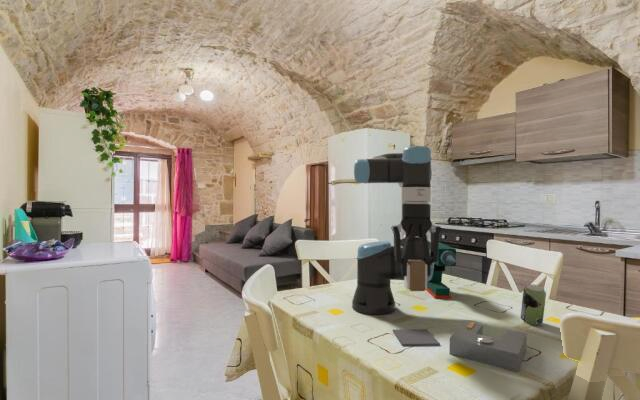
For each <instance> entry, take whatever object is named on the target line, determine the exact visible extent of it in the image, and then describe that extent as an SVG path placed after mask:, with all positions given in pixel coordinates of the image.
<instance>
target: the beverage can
mask: <svg viewBox="0 0 640 400" xmlns="http://www.w3.org/2000/svg"><path fill="white" fill-rule="evenodd" d="M522 292H523V293H522V299H521V309H520V310H521V311H520V319H521V320H522V321H523V322H524V323H526V324H527V325H530V326H539V325H542V324H543V322H544V314H545V305H546V296H547V292H546V290H545V288H544V287H542V286H541V285H539V284H538V285H537V284H532V283H531V284H526V285H525V287H524V288H523V291H522Z"/></svg>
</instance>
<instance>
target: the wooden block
mask: <svg viewBox="0 0 640 400" xmlns="http://www.w3.org/2000/svg"><path fill="white" fill-rule="evenodd" d="M408 264H409V265H410V289H408V290H409V291H411V292H425V291H426V290H425V262H424V261H422V260H408Z"/></svg>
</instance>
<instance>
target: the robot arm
mask: <svg viewBox="0 0 640 400" xmlns="http://www.w3.org/2000/svg"><path fill="white" fill-rule="evenodd" d="M431 150H432V149H431V148H430V147H429V146H425V145H415V146H414V145H412V146H406V147H404V148H403V150H402V152H401V153H399V152H398V153H397V152H396V153H395V152H394V153H393V152H390V153H384V154H381V155H380V154H379V155H377V156H373V157H372V158H359V159H356V160H355V161H354V166H353V175H354V180H355V183H357V184H398V186H399V187H400V188H401V221H400V223H399V224H397V225H392V226H391V227H390V228H391V231H392V233H393V245H392V244H391V242H390V241H385V240H384V241H372V242H366V243H363V244H360V245H359V246H358V248H357V256H356V259H357V272H356V273H357V274H356V275H357V276H356V279H357V281H356V283H357V284H356V289H355V291H354V294H353V297H352V299H351V303H352V304H351V308H352V309H353V310H354V311H356V312H358V313H362V314H367V315H386V314H391V313H393V312H395V311H396V301H395V298H394V294H393V292H392V288H391V280H394V281H403V282H404V284H403V285H404V288H405V289H408V290H409V289H410V265H409V264H408V260H422V261H424V262H425V289H427V281H430V280H431V279H432V276H433V270H434V262H437V261H438V242H440V240H439V237H440V233H441V230H442V227H441V226H438V225H435V224H433V222H432V221H431V208H432V207H431V205H432V204H431V205H430V202H431V180H432V171H433V170H432V156H431V155H432V152H431ZM429 230H430V232H431V233H430V234H431V235H430V240H429V239H428V236H427V233H428V232H429ZM430 242H431V243H430Z"/></svg>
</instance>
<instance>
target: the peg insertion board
mask: <svg viewBox="0 0 640 400" xmlns="http://www.w3.org/2000/svg"><path fill="white" fill-rule="evenodd" d="M483 327H484V325H483V324H482V323H478V322H475V321H468V320H465V321H464V322H463V323H462V324H461V325H460V326H459V328H457V330H455V331H454V332H453V334H452V335H450V337H449V355H451V356H452V355H453V356H456V357H459V358H460V357H461V358H464V359H467V360H471V361H475V362H478V363H482V364H486V365H489V366H495V367H496V368H497V367H498V368H500V369H505V370H508V371H509V370H510V371H513V372H516V373H519V370H520V368H521V366H522V362H523V359H524V357H525V354H526V351H527V341H528V340H527V338H528V337H527V332H520V331H515V330H512V329H506V331H505V332H504V334H503V336H502V338H497V337H493V336H489V335H484V334H483V333H484V331H483V329H484V328H483Z"/></svg>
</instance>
